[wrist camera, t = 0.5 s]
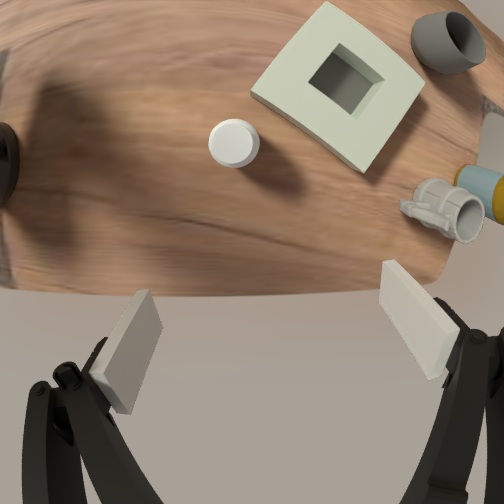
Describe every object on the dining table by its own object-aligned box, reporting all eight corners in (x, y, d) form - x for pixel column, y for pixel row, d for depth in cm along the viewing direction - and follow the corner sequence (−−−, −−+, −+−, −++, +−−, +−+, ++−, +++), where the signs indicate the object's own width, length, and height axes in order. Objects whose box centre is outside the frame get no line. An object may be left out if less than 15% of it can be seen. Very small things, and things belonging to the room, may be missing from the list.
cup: (457, 70, 26) (498, 64, 17) (422, 85, 28) (465, 77, 19) (428, 19, 23) (465, 2, 14) (389, 29, 25) (425, 7, 16)
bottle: (446, 194, 35) (511, 225, 21) (460, 155, 32) (528, 173, 18) (470, 211, 35) (530, 245, 22) (483, 175, 33) (546, 199, 19)
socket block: (250, 95, 30) (250, 90, 26) (318, 12, 25) (326, 0, 21) (352, 169, 34) (363, 173, 30) (410, 85, 29) (425, 82, 25)
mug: (444, 224, 37) (492, 253, 26) (384, 226, 37) (429, 260, 26) (449, 177, 34) (502, 196, 23) (388, 173, 34) (439, 191, 23)
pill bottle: (266, 139, 32) (272, 138, 24) (240, 171, 34) (238, 182, 26) (232, 114, 31) (226, 105, 23) (206, 147, 33) (192, 150, 24)
